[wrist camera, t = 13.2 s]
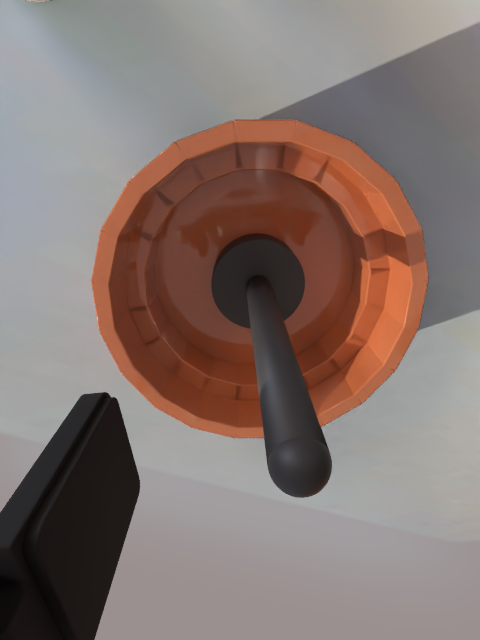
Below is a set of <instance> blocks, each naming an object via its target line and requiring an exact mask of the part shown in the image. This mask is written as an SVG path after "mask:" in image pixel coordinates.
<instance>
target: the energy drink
mask: <svg viewBox="0 0 480 640" xmlns="http://www.w3.org/2000/svg"><path fill="white" fill-rule="evenodd" d="M26 1H31V2H48V1H51V0H26Z"/></svg>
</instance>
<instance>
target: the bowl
mask: <svg viewBox="0 0 480 640" xmlns="http://www.w3.org/2000/svg"><path fill="white" fill-rule="evenodd" d="M255 233H260V234H267V235H271V236H273V237H276V238H277V239H279V240H281V241H282V242H284V243H285V244H286V245H287V246H288V247H289V248H290V249H291V251H292V252H293V253H294V255H295V256H296V257H297V259H298V260H299V262H300V264H301V266H302V269H303V272H304V277H305V289H304V294H303V297H302V300H301V302H300V304H299V306H298V307H297V309H296V310H295V311H294V313H293V314H292V315H291V316H290V317H289V318H287V319H286V320H285V321H284V323H285V326H286V329H287V332H288V334H289V337H290V340H291V343H292V346H293V349H294V352H295V355H296V357H297V360H298V363H299V366H300V369H301V372H302V375H303V378H304V380H305V383H306V386H307V389H308V392H309V395H310V398H311V401H312V403H313V406H314V409H315V412H316V415H317V418H318V421H319V424H320V426H321V427H322V426H323V425H326V424H328V423H329V422H331V421H333V420H335V419H336V418H338V417H340V416H342V415H343V414H345V413H347V412H348V411H350V410H352V409H354V408H355V407H357V406H359V405H361V404H362V402H365V401H366V400H367V399H368V398H369V397H370V396H371V395H372V394H373V393H374V392H375V391H376V390H377V389H378V388H379V387H380V386H381V385H382V384H383V383H384V382H385V381H386V380H387V379H388V378H389V377H390V376H391V375H392V374H393V373H394V372H395V370H396V369H397V367H398V365H399V364H400V362H401V360H402V358H403V356H404V354H405V353H406V351H407V349H408V347H409V345H410V344H411V342H412V340H413V338H414V336H415V334H416V333H417V331H418V328H419V325H420V320H421V315H422V310H423V305H424V300H425V295H426V291H427V286H428V280H429V277H428V270H427V262H426V254H425V247H424V239H423V232H422V229H421V226H420V224H419V222H418V220H417V218H416V216H415V214H414V212H413V210H412V208H411V206H410V205H409V203H408V201H407V199H406V197H405V195H404V193H403V191H402V189H401V187H400V185H399V183H398V182H397V181H396V179H395V178H394V177H393V176H392V175H391V174H390V173H388V172H387V171H386V170H385V169H384V168H383V167H382V166H381V165H379V164H378V163H377V162H376V161H375V160H374V159H373V158H372V157H370V156H369V155H368V154H367V153H366V152H365V151H364V150H363V149H361V148H360V147H359V146H358V145H357V144H356V143H355V142H352V141H351V140H348V139H346V138H343V137H341V136H338V135H335V134H333V133H330V132H327V131H325V130H322V129H319V128H317V127H314V126H311V125H309V124H306V123H304V122H301V121H296V120H234V121H229V122H226V123H223V124H221V125H218V126H215V127H213V128H210V129H207V130H204V131H202V132H199V133H196V134H193V135H191V136H188V137H185V138H183V139H180V140H177V141H176V142H173V143H172V144H171V145H170V146H169V147H168V148H166V149H165V150H164V151H163V152H162V153H160V154H159V155H158V156H157V157H156V158H154V159H153V160H152V161H151V162H150V163H149V164H147V165H146V166H145V167H144V168H143V169H141V170H140V171H139V172H138V173H137V174H136V175H134V176H133V177H132V178H131V179H130V181H129V182H128V183H127V185H126V186H125V188H124V190H123V192H122V193H121V195H120V197H119V199H118V200H117V202H116V204H115V206H114V207H113V209H112V211H111V212H110V214H109V216H108V218H107V219H106V221H105V223H104V225H103V226H102V230H100V236H99V241H98V247H97V252H96V258H95V263H94V269H93V275H92V280H91V281H92V289H93V296H94V302H95V308H96V315H97V321H98V327H99V331H100V334H101V335H102V337H103V339H104V341H105V343H106V345H107V347H108V349H109V351H110V353H111V355H112V357H113V359H114V360H115V362H116V364H117V366H118V368H119V370H120V372H121V373H122V375H123V376H124V377H125V378H126V379H127V380H128V381H129V382H130V383H131V384H132V385H133V386H134V387H135V388H136V389H137V390H138V391H139V392H140V393H141V394H142V395H143V396H144V397H145V398H146V399H147V400H148V401H149V402H150V403H151V404H152V405H154V407H156V408H157V409H159V410H161V411H163V412H165V413H166V414H168V415H170V416H172V417H174V418H175V419H177V420H179V421H181V422H183V423H184V424H186V425H188V426H190V427H192V428H195V429H199V430H203V431H207V432H211V433H215V434H219V435H224V436H228V437H232V438H264V432H263V424H262V416H261V407H260V399H259V391H258V383H257V375H256V367H255V359H254V351H253V342H252V334H251V329H250V328H245V327H242V326H239V325H237V324H235V323H233V322H231V321H230V320H228V319H227V318H226V317H225V316H224V315H223V314H222V313H221V312H220V310H219V309H218V307H217V305H216V303H215V301H214V298H213V294H212V287H211V284H212V275H213V270H214V265H215V262H216V260H217V258H218V256H219V254H220V253H221V251H222V250H223V249H224V248H225V246H226V245H228V244H229V243H230V242H231V241H233V240H235V239H236V238H238V237H241V236H244V235H247V234H255Z"/></svg>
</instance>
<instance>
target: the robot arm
mask: <svg viewBox="0 0 480 640" xmlns="http://www.w3.org/2000/svg"><path fill="white" fill-rule="evenodd" d="M139 491H140V480H139V475H138V472H137V468H136V464H135V461H134V457H133V454H132V450H131V446H130V443H129V439H128V436H127V432H126V428H125V425H124V421H123V418H122V414H121V411H120V407H119V403H118V401H117V399H116V398H115V397H113V398H111V397H110V395H109V394H108V393H106V392H104V393H93V394H84V395H82V396H81V397H80V398H79V400H78V401H77V403H76V404H75V406H74V407H73V408H72V410H71V411H70V413H69V414H68V416H67V417H66V419H65V420H64V421H63V423H62V424H61V426H60V427H59V429H58V430H57V432H56V433H55V434H54V436H53V437H52V439H51V440H50V442H49V443H48V445H47V446H46V447H45V449H44V450H43V452H42V453H41V455H40V456H39V458H38V459H37V461H36V462H35V463H34V465H33V466H32V468H31V469H30V471H29V472H28V474H27V475H26V476H25V478H24V479H23V481H22V482H21V484H20V485H19V487H18V488H17V489H16V491H15V492H14V494H13V495H12V497H11V498H10V499H9V501H8V502H7V504H6V505H5V507H4V508H3V510H2V511H1V512H0V640H94V639H95V636H96V632H97V629H98V626H99V623H100V619H101V616H102V613H103V610H104V606H105V603H106V600H107V596H108V593H109V590H110V587H111V584H112V580H113V577H114V574H115V570H116V567H117V564H118V561H119V557H120V554H121V551H122V548H123V544H124V541H125V538H126V534H127V531H128V528H129V525H130V522H131V518H132V515H133V511H134V509H135V505H136V502H137V498H138V496H139Z"/></svg>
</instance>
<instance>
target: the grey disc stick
mask: <svg viewBox="0 0 480 640" xmlns="http://www.w3.org/2000/svg"><path fill="white" fill-rule="evenodd" d="M211 287H212V294H213V298H214V301H215V303H216V305H217V307H218V309H219V310H220V312H221V313H222V314H223V315H224V316H225V317H226V318H227V319H228V320H230V321H231V322H233V323H235V324H237V325H239V326H242V327H245V328H250V329H251V334H252V342H253V351H254V359H255V367H256V375H257V383H258V391H259V399H260V407H261V416H262V424H263V432H264V440H265V448H266V456H267V464H268V470H269V473H270V476H271V478H272V480H273V482H274V483H275V484H276V486H277V487H278V488H279V489H281V490H282V491H283V492H285V493H286V494H288V495H291V496H293V497H301V498H303V497H309V496H312V495H315V494H317V493H318V492H320V491H321V490H322V489H323V488H324V486H325V485H326V484H327V482H328V480H329V478H330V475H331V470H332V460H331V456H330V452H329V449H328V447H327V444H326V441H325V438H324V435H323V432H322V429H321V426H320V424H319V421H318V418H317V415H316V412H315V409H314V406H313V403H312V401H311V398H310V395H309V392H308V389H307V386H306V383H305V380H304V378H303V375H302V372H301V369H300V366H299V363H298V360H297V357H296V355H295V352H294V349H293V346H292V343H291V340H290V337H289V334H288V332H287V329H286V326H285V323H284V321H285V320H286V319H287V318H289V317H290V316H291V315H292V314H293V313H294V311H295V310H296V309H297V307H298V306H299V304H300V302H301V300H302V297H303V294H304V289H305V277H304V272H303V269H302V266H301V264H300V262H299V260H298V259H297V257H296V256H295V255H294V253H293V252H292V251H291V249H290V248H289V247H288V246H287V245H286V244H285V243H284V242H282V241H281V240H279V239H277V238H276V237H273V236H271V235H267V234H260V233H255V234H247V235H244V236H241V237H238V238H236V239H235V240H233V241H231V242H230V243H229V244H228V245H226V246H225V248H224V249H223V250H222V251H221V253H220V254H219V256H218V258H217V260H216V262H215V265H214V270H213V275H212V284H211Z"/></svg>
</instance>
